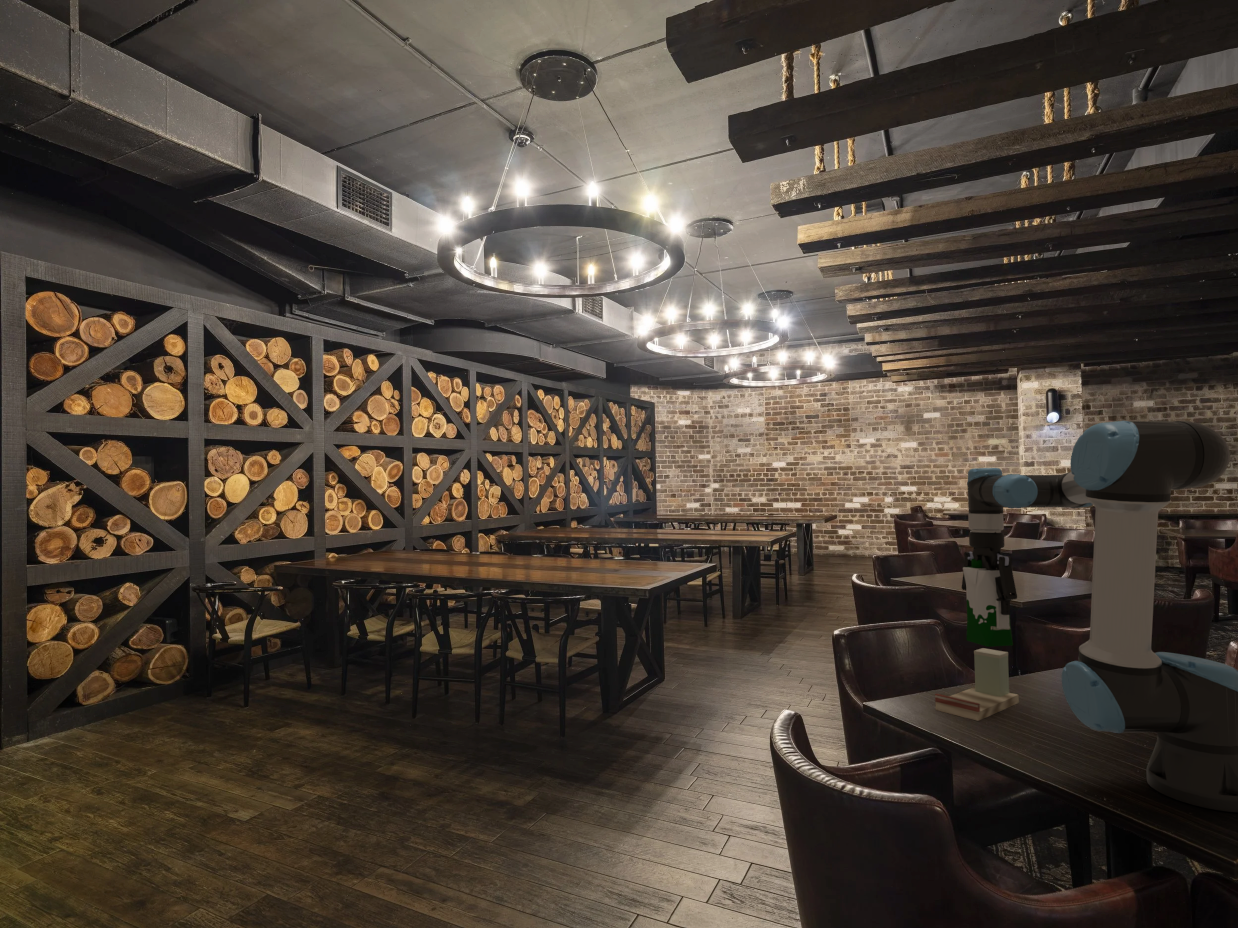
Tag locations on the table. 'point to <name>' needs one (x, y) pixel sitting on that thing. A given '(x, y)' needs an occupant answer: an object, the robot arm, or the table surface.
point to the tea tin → (991, 672)
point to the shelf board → (974, 703)
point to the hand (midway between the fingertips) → (988, 624)
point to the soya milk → (983, 607)
